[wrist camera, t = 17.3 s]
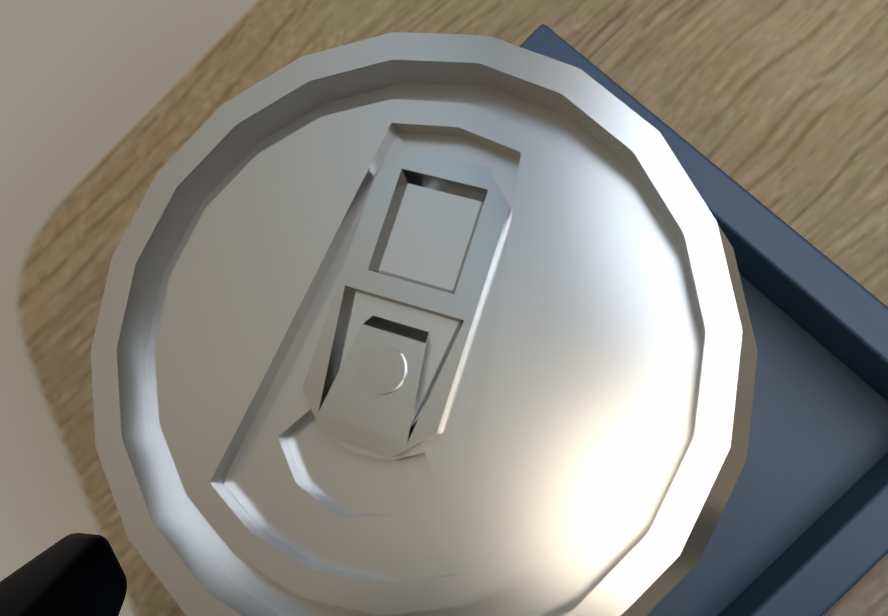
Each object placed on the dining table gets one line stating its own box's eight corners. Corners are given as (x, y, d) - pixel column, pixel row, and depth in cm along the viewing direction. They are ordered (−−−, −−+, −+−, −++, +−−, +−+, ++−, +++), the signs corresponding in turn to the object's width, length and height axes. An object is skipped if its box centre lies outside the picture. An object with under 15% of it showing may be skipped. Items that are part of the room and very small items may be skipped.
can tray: (551, 829, 16) (536, 891, 14) (215, 414, 20) (157, 407, 17) (969, 427, 16) (1027, 420, 14) (554, 75, 19) (542, 20, 17)
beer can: (472, 274, 18) (201, -45, 7) (712, 340, 17) (871, 74, 5) (397, 504, 18) (-34, 571, 6) (640, 593, 16) (650, 889, 5)
